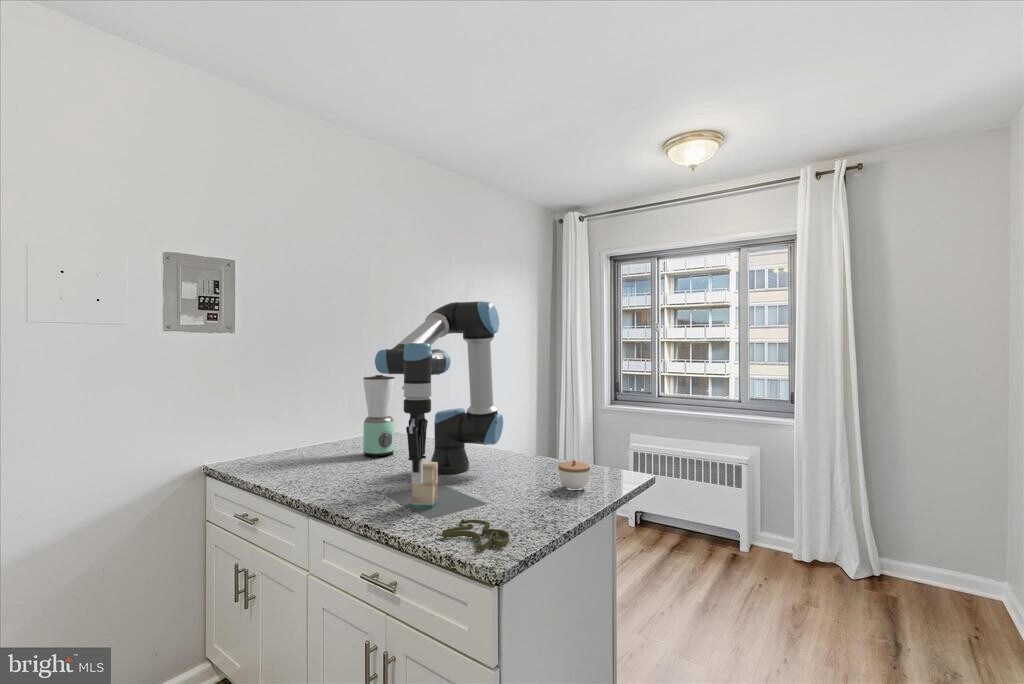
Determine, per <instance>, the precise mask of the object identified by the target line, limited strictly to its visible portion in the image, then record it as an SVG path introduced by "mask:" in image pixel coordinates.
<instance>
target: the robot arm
mask: <svg viewBox="0 0 1024 684" xmlns="http://www.w3.org/2000/svg"><path fill="white" fill-rule="evenodd" d="M499 326H500V318H499V312H498V310H497V308H496V306H495V304H493V303H492V302H489V301H463V302H458V301H455V302H450V303H447V304H446V303H445V304H444V305H442V306H440V307H439V308H436V309H435V310H432V311H431V312H430V313H429V314H428V315H427V316H426V317H425V319H424V322H423V323H422V324H420V325H419V326H417V328H415V329H414V330H413V331H412V332H411V333H409V334H408V335H407V336H405V338H403V339H402V340H401V341H399V343H397V344H396V345H395V346H394V347H392V348H390V349H389V348H385V349H380V350H378V352H377V353H376V355H375V358H374V365H375V369H376V370H377V372H378V373H380V374H383V375H384V374H385V375H386V374H387V375H403V385H402V387H401V389H402V390H403V397H404V398H405V399H403V412H404V413H405V414H409V415H410V416H409V420H408V426H406V427H405V429H406V434H407V445H408V446H407V448H408V460H407V461H411V485H412V484H422V483H423V462H424V459H427V456H426V444H427V428H428V423H429V422H428V420H427V419H426V415H425V414H429V413H430V412H431V411H432V399H431V397H432V376H434V375H435V376H436V375H437V376H439V375H441V374H444V373H446V372H447V371H448V370H449V368H450V367H451V362H452V361H451V357H450V355H449V354H448V353H447V352H446V351H445V350H443V349H432V345H433V344H434V343H435V342H436V341H437V340H438V339H441V338H443V337H446V336H447V335H449V334H462V340H464V341H465V342H466V343H467V360H468V361H467V363H468V382H469V400H470V401H469V403H470V406H469V407H468V408H467V409H465V408H462V407H460V408H459V407H458V408H450V409H444V410H443V409H442V410H439V411H437V412H436V413H435V415H434V423H433V425H434V450H433V453H432V457H431V460H430V462H438V474H440V473H454V474H458V473H457V472H461V473H463V472H462V471H465V470H467V469H468V470H469V469H470V462H469V458H468V456H467V451H466V448H465V445H466V444H472V445H483V446H489V445H491V446H492V445H493V446H494V445H495V444H498V442H499V440H500V439H501V436H502V433H503V430H504V417H503V414H500V413H498V407H497V406H496V405H495V404H494V393H493V374H492V373H493V372H492V370H493V369H492V350H491V349H492V348H491V346H492V345H491V342H492V341H493V339H494V338H495V334H497V333H498V332H499V328H500V327H499ZM468 470H467V471H468ZM465 472H466V471H465Z"/></svg>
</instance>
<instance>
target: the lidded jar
mask: <svg viewBox="0 0 1024 684" xmlns="http://www.w3.org/2000/svg"><path fill="white" fill-rule="evenodd" d="M557 467H558V468H557V469H558V478H559V481H560V484H561V485H562V486H563V487H564V488H565V487H566V488H571V489H579V488H583V487H584V488H585V487H586V486H587V484H588V483H589V480H590V474H591V470H590V469H591V465H590V464H589V463H586V462H582V461H576V460H575V459H572V461H564V462H560V463H558V465H557ZM584 488H583V489H584Z"/></svg>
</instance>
